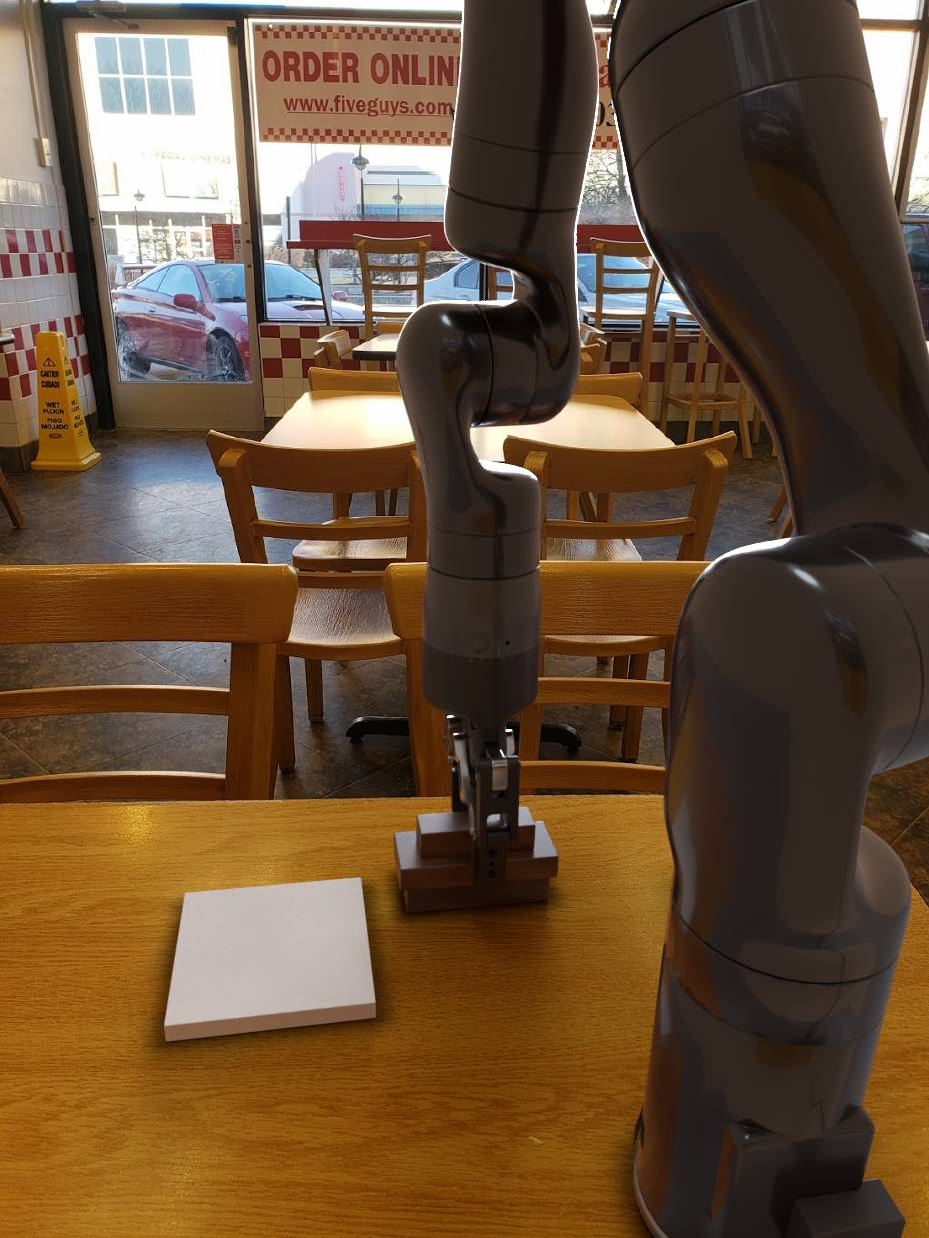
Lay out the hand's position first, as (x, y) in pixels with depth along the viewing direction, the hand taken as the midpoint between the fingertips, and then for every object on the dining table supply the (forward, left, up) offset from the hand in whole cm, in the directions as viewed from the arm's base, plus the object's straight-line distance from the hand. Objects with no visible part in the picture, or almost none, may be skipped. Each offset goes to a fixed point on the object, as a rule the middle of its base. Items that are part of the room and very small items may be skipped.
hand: (476, 846), depth 66 cm
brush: (0, 0, -4) cm, 4 cm away
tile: (-5, +14, -4) cm, 15 cm away
